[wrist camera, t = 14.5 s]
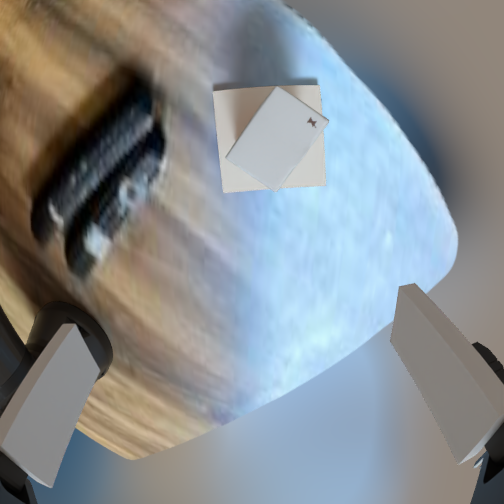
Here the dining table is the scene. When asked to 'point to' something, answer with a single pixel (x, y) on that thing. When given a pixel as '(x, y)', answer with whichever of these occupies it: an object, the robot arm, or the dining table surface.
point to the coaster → (235, 120)
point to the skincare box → (276, 138)
